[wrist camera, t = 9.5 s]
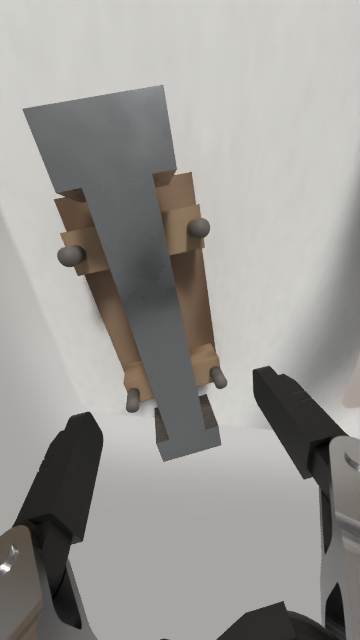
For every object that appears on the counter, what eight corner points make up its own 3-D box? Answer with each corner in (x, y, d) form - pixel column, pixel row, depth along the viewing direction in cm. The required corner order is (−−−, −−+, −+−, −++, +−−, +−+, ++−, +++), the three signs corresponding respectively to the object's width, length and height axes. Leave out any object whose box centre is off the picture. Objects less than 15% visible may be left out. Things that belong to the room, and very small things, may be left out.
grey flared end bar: (157, 127, 12) (163, 85, 9) (209, 412, 23) (221, 445, 20) (60, 145, 12) (22, 108, 8) (160, 425, 23) (163, 461, 20)
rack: (188, 176, 17) (209, 149, 11) (215, 369, 27) (234, 409, 21) (61, 201, 17) (15, 186, 11) (136, 390, 26) (133, 437, 20)
